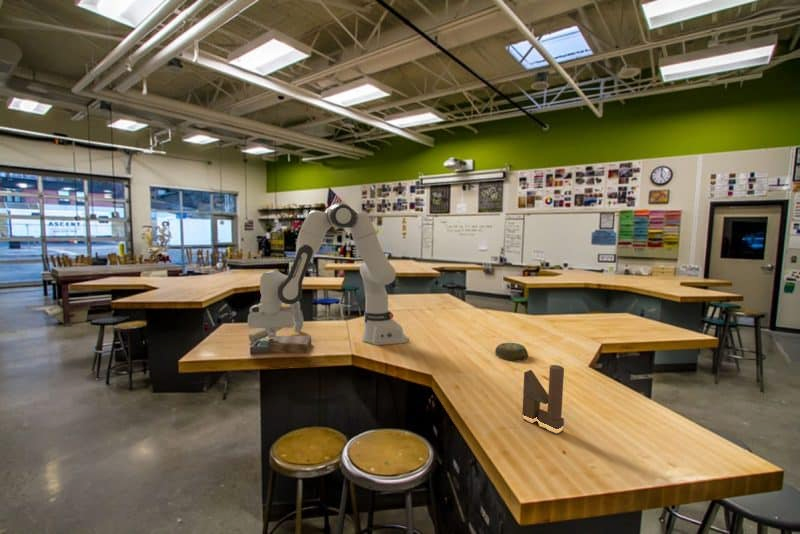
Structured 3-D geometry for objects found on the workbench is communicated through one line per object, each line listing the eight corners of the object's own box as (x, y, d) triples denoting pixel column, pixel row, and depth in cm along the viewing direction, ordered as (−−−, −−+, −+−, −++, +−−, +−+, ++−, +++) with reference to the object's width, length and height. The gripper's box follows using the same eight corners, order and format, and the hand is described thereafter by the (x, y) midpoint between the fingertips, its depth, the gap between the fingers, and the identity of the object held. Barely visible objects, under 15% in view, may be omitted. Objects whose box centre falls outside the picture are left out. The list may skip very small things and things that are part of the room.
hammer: (250, 325, 172) (300, 301, 195) (244, 323, 175) (295, 300, 198) (258, 355, 177) (306, 328, 200) (252, 353, 179) (300, 327, 202)
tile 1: (260, 342, 170) (260, 346, 170) (257, 345, 166) (257, 349, 166) (269, 342, 170) (269, 346, 170) (266, 345, 166) (266, 349, 166)
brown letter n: (528, 415, 111) (531, 356, 109) (563, 431, 102) (567, 367, 100) (521, 419, 108) (524, 359, 106) (556, 435, 100) (560, 370, 98)
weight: (489, 353, 167) (489, 342, 166) (514, 350, 171) (515, 339, 171) (507, 363, 154) (507, 351, 154) (534, 360, 159) (534, 348, 158)
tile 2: (270, 342, 170) (270, 338, 170) (268, 345, 167) (268, 340, 166) (261, 342, 170) (261, 338, 170) (259, 345, 166) (259, 340, 166)
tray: (276, 344, 175) (276, 338, 175) (269, 353, 162) (268, 346, 162) (259, 344, 174) (258, 338, 174) (250, 353, 162) (249, 347, 161)
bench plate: (311, 344, 176) (311, 335, 176) (306, 353, 164) (306, 344, 163) (276, 344, 175) (276, 336, 175) (269, 353, 162) (268, 344, 162)
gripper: (296, 305, 171) (297, 334, 172) (250, 305, 169) (251, 335, 171) (293, 308, 165) (294, 338, 166) (245, 308, 163) (246, 339, 164)
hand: (272, 337), depth 168 cm, fingers closed
